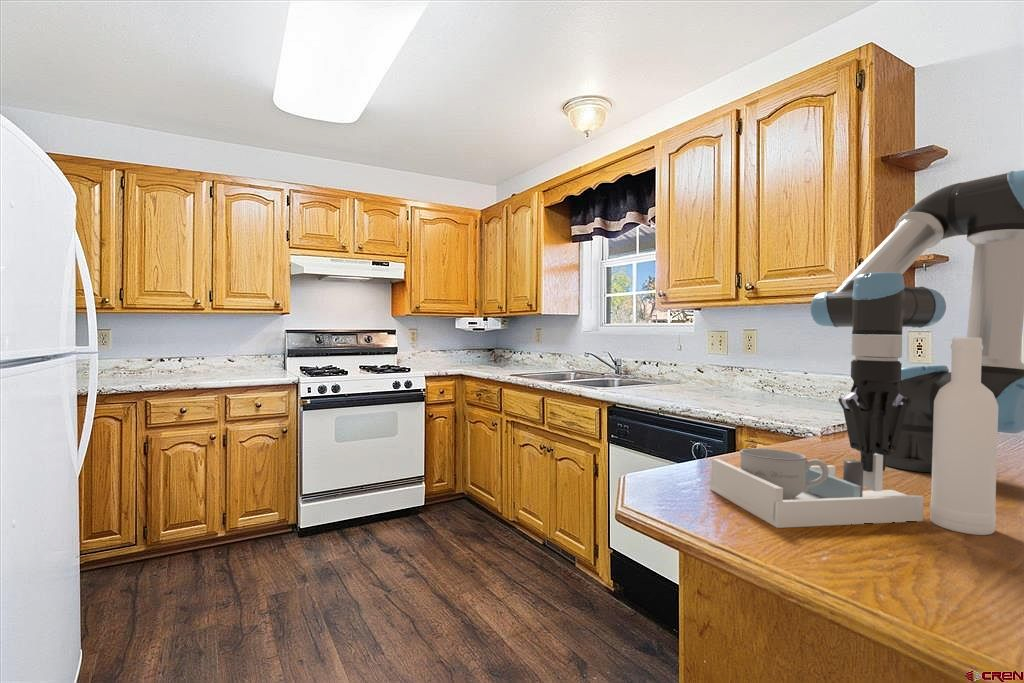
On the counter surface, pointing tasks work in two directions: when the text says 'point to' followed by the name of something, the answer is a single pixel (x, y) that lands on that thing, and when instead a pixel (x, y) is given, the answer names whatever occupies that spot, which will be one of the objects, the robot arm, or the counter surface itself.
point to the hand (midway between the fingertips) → (872, 488)
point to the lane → (810, 501)
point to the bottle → (965, 446)
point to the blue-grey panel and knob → (839, 482)
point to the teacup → (782, 469)
